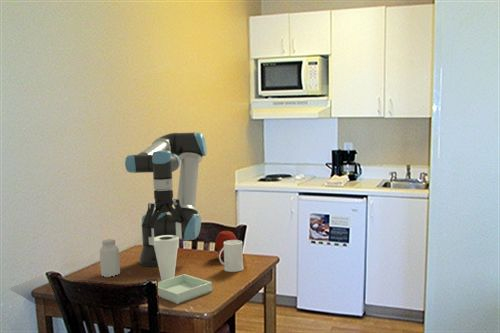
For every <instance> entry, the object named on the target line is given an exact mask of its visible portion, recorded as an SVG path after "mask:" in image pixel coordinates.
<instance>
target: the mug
mask: <svg viewBox="0 0 500 333" xmlns="http://www.w3.org/2000/svg"><path fill="white" fill-rule="evenodd" d="M223 250H224V258H223V260H222V257H221V253H222V251H223ZM243 253H244V252H243V241H242V240H239V239H237V240H228V241H225V242H224V247H223V248H222V249H221V251H220V253H219V254H218V260H219V262H220V263H221V265H224V266H223V267H224V268H223V271H224V272H229V273H235V272H236V273H237V272H241V271H243V270H244V268H245V267H244V260H243V259H244V258H243V256H244V255H243Z"/></svg>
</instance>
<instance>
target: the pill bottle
mask: <svg viewBox="0 0 500 333" xmlns="http://www.w3.org/2000/svg"><path fill="white" fill-rule="evenodd" d="M101 242H102V243H101V244H102V246H101V247H100V249H99V265H100V274H101V276H102V277H103V276H104V278H112V277H111V276H113V277H116V276H115V275H117V276H119V275H120V274H121V267H120V266H121V264H120V250H119V249H120V248H119V247H118V246H117V245H116V239H113V238H111V239H110V238H109V239H104V240H102V241H101ZM118 274H119V275H118Z"/></svg>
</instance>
